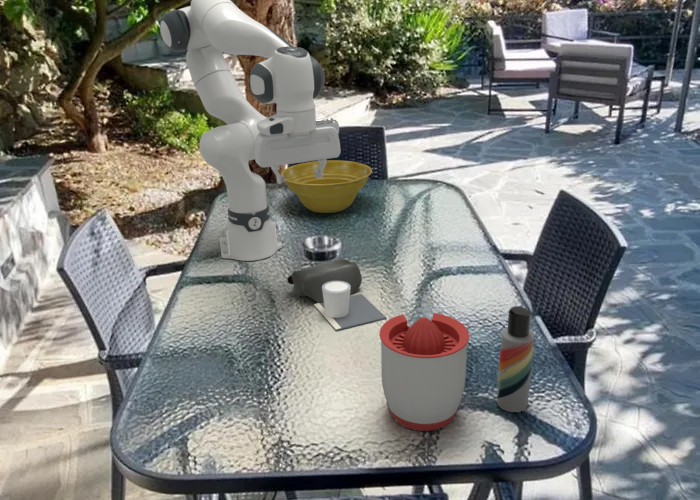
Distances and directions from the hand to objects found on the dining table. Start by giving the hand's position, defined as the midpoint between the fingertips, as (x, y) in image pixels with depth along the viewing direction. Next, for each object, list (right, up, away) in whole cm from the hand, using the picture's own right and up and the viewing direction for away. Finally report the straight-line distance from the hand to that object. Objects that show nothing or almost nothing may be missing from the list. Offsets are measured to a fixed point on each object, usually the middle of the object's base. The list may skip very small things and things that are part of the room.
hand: (300, 180), depth 150 cm
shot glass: (+9, -32, +3) cm, 33 cm away
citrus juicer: (+25, -46, -32) cm, 62 cm away
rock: (+5, -28, +15) cm, 32 cm away
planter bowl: (+4, -1, +78) cm, 78 cm away
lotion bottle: (+42, -46, -31) cm, 69 cm away
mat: (+12, -32, +4) cm, 34 cm away
